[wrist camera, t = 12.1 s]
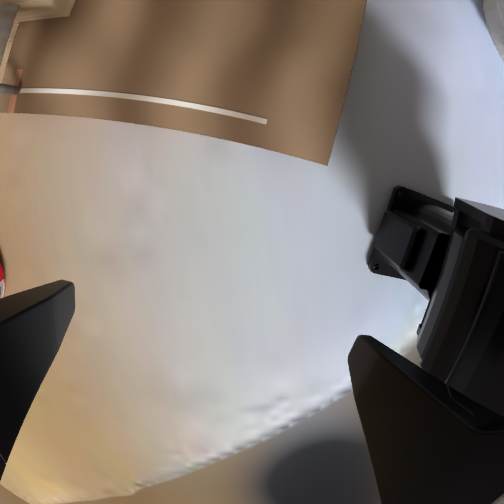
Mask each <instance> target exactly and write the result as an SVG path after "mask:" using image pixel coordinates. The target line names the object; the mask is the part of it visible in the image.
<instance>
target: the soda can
mask: <svg viewBox="0 0 504 504" xmlns="http://www.w3.org/2000/svg"><path fill="white" fill-rule="evenodd" d="M4 292H5V277H4V272H3V268H2V265H1V263H0V298H3V296H4Z"/></svg>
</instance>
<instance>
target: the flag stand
mask: <svg viewBox="0 0 504 504" xmlns="http://www.w3.org/2000/svg"><path fill="white" fill-rule="evenodd" d="M483 13H484V17H485V21H486V25H487V28H488V31H489V34H490V36H491V38H492V41H493V43H494V45H495V47H496V49H497V51H498V53H499V55H500V57H501V58H502V60H503V62H504V0H483Z"/></svg>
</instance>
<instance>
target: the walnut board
mask: <svg viewBox="0 0 504 504" xmlns="http://www.w3.org/2000/svg"><path fill="white" fill-rule="evenodd" d="M366 2H367V0H75V3H74V5H73V8H72V10H71V13H70V16H69V17H57V18H47V19H38V20H31V21H24V22H20V23H19V26H18V29H17V32H16V35H15V38H14V41H13V44H12V48H11V51H10V54H9V58H8V62H7V65H6V69H5V73H4V78H3V82H2V84H9V85H17V86H20V88H21V90H20V93H19V94H17V95H13V94H1V93H0V113H30V114H49V115H63V116H75V117H86V118H95V119H104V120H113V121H121V122H128V123H135V124H142V125H149V126H155V127H161V128H167V129H173V130H179V131H185V132H190V133H195V134H200V135H205V136H210V137H215V138H220V139H225V140H229V141H234V142H238V143H243V144H247V145H251V146H256V147H260V148H264V149H268V150H272V151H276V152H280V153H283V154H287V155H291V156H295V157H298V158H302V159H306V160H309V161H313V162H316V163H320V164H323V165H326V166H327V165H328V162H329V158H330V154H331V151H332V147H333V143H334V139H335V136H336V132H337V128H338V124H339V120H340V116H341V112H342V108H343V104H344V100H345V96H346V92H347V88H348V84H349V80H350V76H351V71H352V67H353V63H354V58H355V54H356V50H357V45H358V40H359V36H360V31H361V27H362V22H363V17H364V12H365V7H366Z"/></svg>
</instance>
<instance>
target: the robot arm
mask: <svg viewBox="0 0 504 504" xmlns="http://www.w3.org/2000/svg"><path fill="white" fill-rule="evenodd" d="M399 191H402V194H401V196H399V195H398V194H399ZM453 212H454V213H453ZM374 246H375V247H374V250H373V253H372V256H371V258H370V261H369V264H368V267H369V269H370V271H371V272H373V273H376V274H381V275H385V276H390V277H395V278H400V279H404V280H407V281H408V282H409V283H410V284H412V285H413V286H414V287H415V288H416V289H417V290H418V291H419V292H420V293H421V294H422V295H423V296H424V297H425V298H426V299H427V300H429V303H428V306H427V309H426V312H425V315H424V317H423V320H422V323H421V324H419V327H418V329H417V335H418V338H417V349H418V352H419V354H420V357H421V359H422V360H421V363H420V365H421V367H422V368H420V367H419V366H417V365H415V364H414V363H412V362H411V361H409V360H408V359H406V358H405V357H403V356H401V355H400V354H398V353H397V352H395V351H394V350H392V349H390V348H389V347H387V346H386V345H384V344H383V343H381V342H379V341H378V340H376V339H375V338H373V337H372V336H369V335H359V336H358V337H357V338H356V340H355V342H354V344H353V347H352V349H351V351H350V353H349V355H348V365H349V371H350V377H351V382H352V388H353V394H354V399H355V402H356V406H357V410H358V414H359V417H360V421H361V424H362V428H363V432H364V435H365V439H366V443H367V447H368V451H369V454H370V458H371V462H372V466H373V470H374V474H375V478H376V483H377V487H378V491H379V495H380V500H381V504H504V210H503V209H500V208H497V207H493V206H489V205H485V204H481V203H477V202H473V201H469V200H465V199H461V198H457V197H455V202H454V207H452V206H450V205H448V204H445V203H443V202H440V201H438V200H436V199H433V198H431V197H428V196H426V195H423V194H420V193H418V192H415V191H413V190H410V189H407V188H405V187H402V186H396V187H395V188H394V190H393V193H392V196H391V199H390V202H389V206H388V209H387V211H386V212H385V213H384V217H383V220H382V223H381V226H380V229H379V232H378V234H377V237H376V240H375V243H374ZM375 264H377V266H376V267H375V268H373V267H374V265H375ZM74 311H75V287H74V284H73V283H72V282H70V281H66V280H58V281H55V282H52V283H48V284H45V285H42V286H39V287H35V288H32V289H29V290H26V291H22V292H19V293H16V294H13V295H10V296H6V297H3V298H0V480H1V477H2V475H3V472H4V469H5V466H6V464H5V463H7V461H8V458H9V455H10V453H11V450H12V448H13V445H14V443H15V440H16V438H17V436H18V433H19V431H20V429H21V426H22V424H23V422H24V419H25V417H26V415H27V413H28V411H29V408H30V406H31V404H32V402H33V400H34V398H35V396H36V394H37V392H38V389H39V387H40V385H41V383H42V381H43V379H44V377H45V375H46V374H47V372H48V370H49V368H50V366H51V364H52V362H53V360H54V358H55V356H56V354H57V352H58V350H59V348H60V346H61V343H62V341H63V338H64V336H65V333H66V331H67V328H68V326H69V324H70V321H71V319H72V317H73V314H74Z"/></svg>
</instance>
